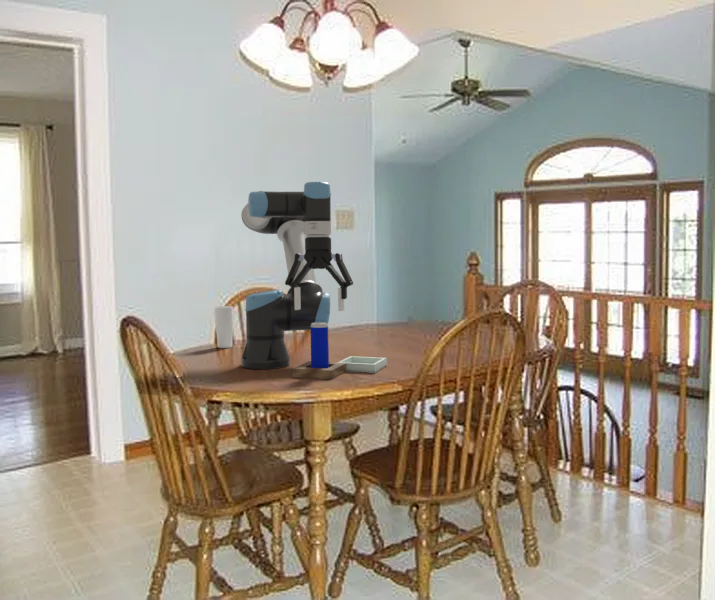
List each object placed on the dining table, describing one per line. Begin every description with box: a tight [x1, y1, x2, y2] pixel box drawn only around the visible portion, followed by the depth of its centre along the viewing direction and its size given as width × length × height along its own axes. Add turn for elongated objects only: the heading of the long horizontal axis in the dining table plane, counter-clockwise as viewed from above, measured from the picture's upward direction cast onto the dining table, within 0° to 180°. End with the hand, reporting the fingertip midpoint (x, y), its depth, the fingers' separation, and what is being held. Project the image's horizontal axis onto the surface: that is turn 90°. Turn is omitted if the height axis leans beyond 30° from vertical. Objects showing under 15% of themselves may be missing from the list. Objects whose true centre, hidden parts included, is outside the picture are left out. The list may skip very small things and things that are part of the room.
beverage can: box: [310, 322, 330, 368], centre depth 203 cm, size 5×5×15 cm
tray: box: [336, 355, 388, 374], centre depth 212 cm, size 12×12×2 cm
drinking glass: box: [214, 305, 234, 349], centre depth 256 cm, size 7×7×15 cm
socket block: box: [292, 360, 347, 380], centre depth 203 cm, size 12×12×2 cm
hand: (319, 310), depth 202 cm, fingers open, 13 cm apart
